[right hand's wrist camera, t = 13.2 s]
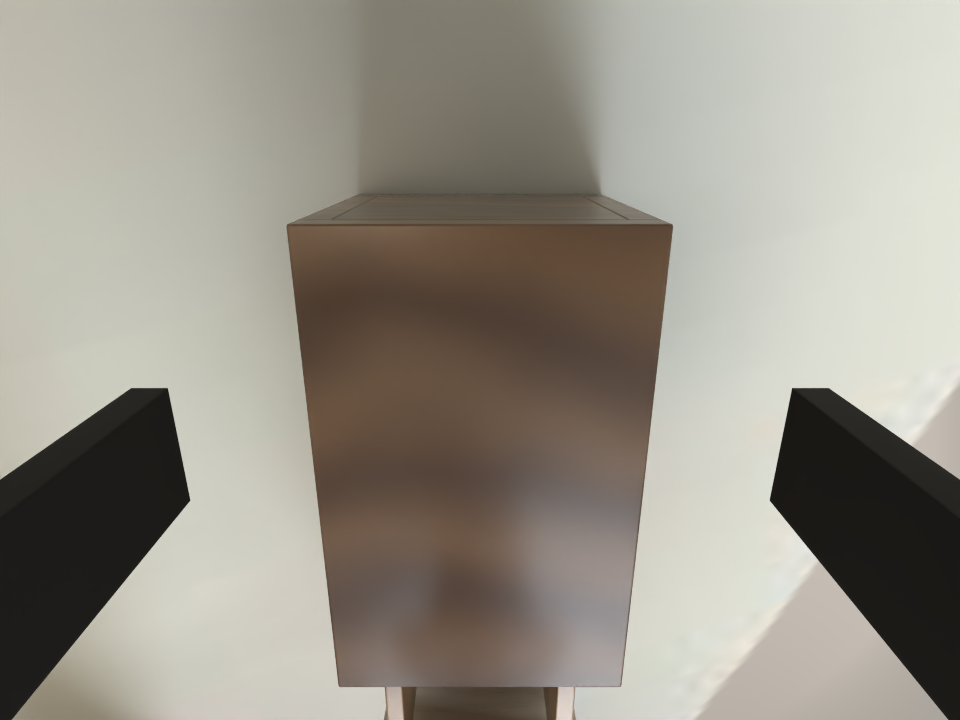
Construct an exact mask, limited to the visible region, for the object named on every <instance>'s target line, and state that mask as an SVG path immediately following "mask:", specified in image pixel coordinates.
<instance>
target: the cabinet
mask: <svg viewBox="0 0 960 720" xmlns="http://www.w3.org/2000/svg"><path fill="white" fill-rule="evenodd" d="M672 231H673V225H672V224H670V223H668V222H665V221H663V220H660V219H658V218H655V217H653V216H651V215H648V214H646V213H644V212H641V211H639V210H636V209H634V208H632V207H629V206H627V205H625V204H622V203H620V202H617V201H615V200H613V199H610V198H608V197H605V196H603V195H357V196H354V197H352V198H350V199H347V200H345V201H342V202H340V203H338V204H335V205H333V206H330V207H328V208H326V209H323V210H321V211H319V212H316V213H314V214H311V215H309V216H307V217H304V218H302V219H299V220H297V221H295V222H292V223H290V224H287V234H288V243H289V252H290V261H291V270H292V278H293V287H294V296H295V305H296V314H297V323H298V331H299V340H300V349H301V358H302V367H303V375H304V384H305V393H306V402H307V411H308V420H309V428H310V437H311V446H312V455H313V464H314V473H315V481H316V490H317V499H318V508H319V517H320V526H321V534H322V543H323V552H324V561H325V570H326V578H327V587H328V596H329V605H330V614H331V623H332V631H333V640H334V649H335V658H336V667H337V676H338V684H339V687H621V683H622V674H623V665H624V656H625V647H626V639H627V630H628V621H629V612H630V603H631V594H632V585H633V576H634V568H635V559H636V550H637V541H638V532H639V523H640V514H641V506H642V497H643V488H644V479H645V470H646V461H647V452H648V444H649V435H650V426H651V417H652V408H653V399H654V390H655V381H656V373H657V364H658V355H659V346H660V337H661V328H662V319H663V311H664V302H665V293H666V284H667V275H668V266H669V257H670V249H671V240H672Z"/></svg>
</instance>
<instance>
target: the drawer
mask: <svg viewBox="0 0 960 720" xmlns="http://www.w3.org/2000/svg"><path fill="white" fill-rule="evenodd" d="M574 695H575V687H385V696H386V711H385V717H384V720H576V718H575V711H574Z"/></svg>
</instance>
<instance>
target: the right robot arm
mask: <svg viewBox="0 0 960 720" xmlns="http://www.w3.org/2000/svg"><path fill="white" fill-rule="evenodd" d="M189 501H190V497H189V492H188V487H187V482H186V477H185V472H184V467H183V462H182V457H181V452H180V447H179V442H178V437H177V432H176V427H175V422H174V417H173V412H172V407H171V402H170V397H169V392H168V388H131V389H130V390H128V391H127V392H125V393H124V394H122V395H121V396H119V397H118V398H117V399H115V400H114V401H112V402H111V403H109V404H108V405H107V406H105V407H104V408H102V409H101V410H99V411H98V412H97V413H95V414H94V415H92V416H91V417H89V418H88V419H87V420H85V421H84V422H82V423H81V424H79V425H78V426H77V427H75V428H74V429H72V430H71V431H69V432H68V433H66V434H65V435H64V436H62V437H61V438H59V439H58V440H56V441H55V442H54V443H52V444H51V445H49V446H48V447H46V448H45V449H44V450H42V451H41V452H39V453H38V454H36V455H35V456H34V457H32V458H31V459H29V460H28V461H26V462H25V463H23V464H22V465H21V466H19V467H18V468H16V469H15V470H13V471H12V472H11V473H9V474H8V475H6V476H5V477H3V478H2V479H1V480H0V720H12V719H13V717H14V716H15V715H16V714H17V712H18V711H19V710H20V709H21V708H22V706H23V705H24V704H25V703H26V701H27V700H28V699H29V698H30V696H31V695H32V694H33V693H34V692H35V690H36V689H37V688H38V687H39V685H40V684H41V683H42V682H43V681H44V679H45V678H46V677H47V676H48V674H49V673H50V672H51V671H52V669H53V668H54V667H55V666H56V665H57V663H58V662H59V661H60V660H61V658H62V657H63V656H64V655H65V654H66V652H67V651H68V650H69V649H70V647H71V646H72V645H73V644H74V642H75V641H76V640H77V639H78V638H79V636H80V635H81V634H82V633H83V631H84V630H85V629H86V628H87V627H88V625H89V624H90V623H91V622H92V620H93V619H94V618H95V617H96V615H97V614H98V613H99V612H100V611H101V609H102V608H103V607H104V606H105V604H106V603H107V602H108V601H109V600H110V598H111V597H112V596H113V595H114V593H115V592H116V591H117V590H118V588H119V587H120V586H121V585H122V584H123V582H124V581H125V580H126V579H127V577H128V576H129V575H130V574H131V573H132V571H133V570H134V569H135V568H136V566H137V565H138V564H139V563H140V562H141V560H142V559H143V558H144V557H145V555H146V554H147V553H148V552H149V550H150V549H151V548H152V547H153V546H154V544H155V543H156V542H157V541H158V539H159V538H160V537H161V536H162V535H163V533H164V532H165V531H166V530H167V528H168V527H169V526H170V525H171V523H172V522H173V521H174V520H175V519H176V517H177V516H178V515H179V514H180V512H181V511H182V510H183V509H184V508H185V506H186V505H187V504H188V503H189ZM770 501H771V503H772V504H773V505H774V506H775V508H776V509H777V510H778V511H779V512H780V514H781V515H782V516H783V517H784V519H785V520H786V521H787V522H788V523H789V525H790V526H791V527H792V528H793V530H794V531H795V532H796V533H797V535H798V536H799V537H800V538H801V539H802V541H803V542H804V543H805V544H806V546H807V547H808V548H809V549H810V550H811V552H812V553H813V554H814V555H815V557H816V558H817V559H818V560H819V562H820V563H821V564H822V565H823V566H824V568H825V569H826V570H827V571H828V573H829V574H830V575H831V576H832V577H833V579H834V580H835V581H836V582H837V584H838V585H839V586H840V587H841V589H842V590H843V591H844V592H845V593H846V595H847V596H848V597H849V598H850V599H851V601H852V602H853V603H854V604H855V606H856V607H857V608H858V609H859V611H860V612H861V613H862V614H863V615H864V617H865V618H866V619H867V620H868V622H869V623H870V624H871V625H872V627H873V628H874V629H875V630H876V631H877V633H878V634H879V635H880V636H881V638H882V639H883V640H884V641H885V642H886V644H887V645H888V646H889V647H890V649H891V650H892V651H893V652H894V654H895V655H896V656H897V657H898V658H899V660H900V661H901V662H902V663H903V665H904V666H905V667H906V668H907V669H908V671H909V672H910V673H911V674H912V676H913V677H914V678H915V679H916V681H917V682H918V683H919V684H920V685H921V687H922V688H923V689H924V690H925V692H926V693H927V694H928V695H929V696H930V698H931V699H932V700H933V701H934V703H935V704H936V705H937V706H938V708H939V709H940V710H941V711H942V712H943V714H944V715H945V716H946V717H947V719H948V720H960V480H959V479H958V478H956V477H955V476H954V475H952V474H951V473H949V472H948V471H947V470H945V469H944V468H942V467H941V466H939V465H938V464H937V463H935V462H934V461H932V460H931V459H929V458H928V457H926V456H925V455H924V454H922V453H921V452H919V451H918V450H916V449H915V448H914V447H912V446H911V445H909V444H908V443H906V442H905V441H904V440H902V439H901V438H899V437H898V436H896V435H895V434H894V433H892V432H891V431H889V430H888V429H886V428H885V427H883V426H882V425H881V424H879V423H878V422H876V421H875V420H873V419H872V418H871V417H869V416H868V415H866V414H865V413H863V412H862V411H861V410H859V409H858V408H856V407H855V406H853V405H852V404H851V403H849V402H848V401H846V400H845V399H843V398H842V397H841V396H839V395H838V394H836V393H835V392H833V391H832V390H830V389H829V388H792V392H791V397H790V402H789V407H788V412H787V417H786V422H785V427H784V432H783V437H782V442H781V447H780V452H779V457H778V462H777V467H776V472H775V477H774V482H773V487H772V492H771V497H770Z"/></svg>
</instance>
